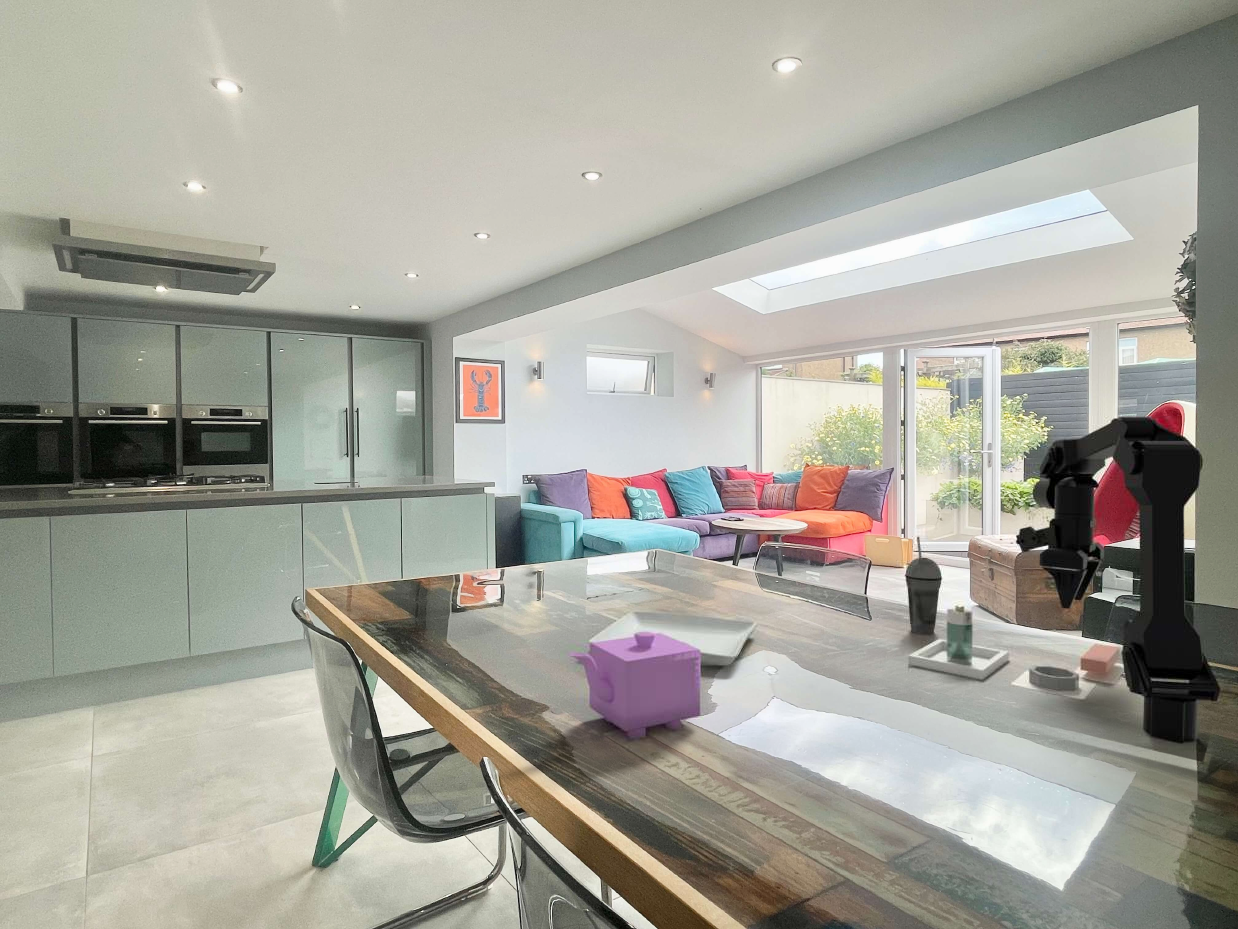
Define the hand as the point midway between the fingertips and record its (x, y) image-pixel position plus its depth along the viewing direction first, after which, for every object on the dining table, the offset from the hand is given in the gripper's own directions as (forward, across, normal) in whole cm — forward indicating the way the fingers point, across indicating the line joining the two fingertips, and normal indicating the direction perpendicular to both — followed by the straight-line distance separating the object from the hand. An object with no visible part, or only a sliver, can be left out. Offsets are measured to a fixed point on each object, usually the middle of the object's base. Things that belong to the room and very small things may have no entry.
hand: (1071, 604), depth 124 cm
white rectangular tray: (+12, +10, -15) cm, 22 cm away
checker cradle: (+12, +4, +1) cm, 13 cm away
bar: (+10, -2, +4) cm, 11 cm away
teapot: (+12, +69, -39) cm, 80 cm away
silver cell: (+11, +10, -15) cm, 21 cm away
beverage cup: (+12, -11, -29) cm, 33 cm away
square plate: (+13, +34, -59) cm, 69 cm away
